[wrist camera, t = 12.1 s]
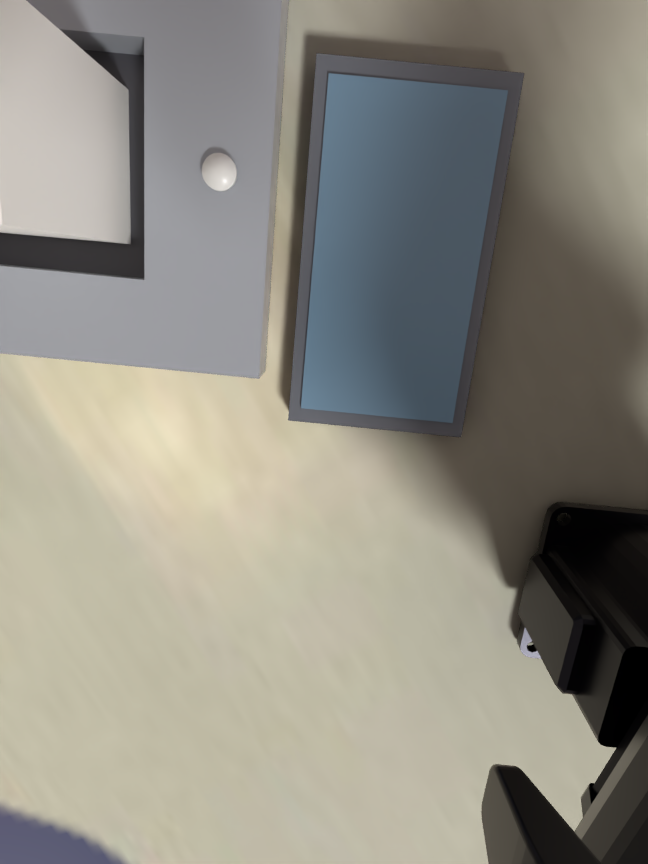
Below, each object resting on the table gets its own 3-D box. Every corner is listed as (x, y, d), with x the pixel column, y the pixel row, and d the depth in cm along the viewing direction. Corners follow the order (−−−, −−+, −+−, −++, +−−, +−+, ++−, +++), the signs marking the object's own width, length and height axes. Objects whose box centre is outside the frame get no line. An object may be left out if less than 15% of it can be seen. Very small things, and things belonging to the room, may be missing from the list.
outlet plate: (290, -39, 15) (284, -76, 14) (265, 370, 19) (258, 379, 17) (-190, -85, 16) (-252, -127, 14) (-129, 332, 19) (-174, 337, 17)
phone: (515, 82, 16) (525, 71, 15) (456, 430, 19) (461, 438, 18) (317, 63, 16) (316, 51, 15) (290, 414, 19) (287, 421, 18)
